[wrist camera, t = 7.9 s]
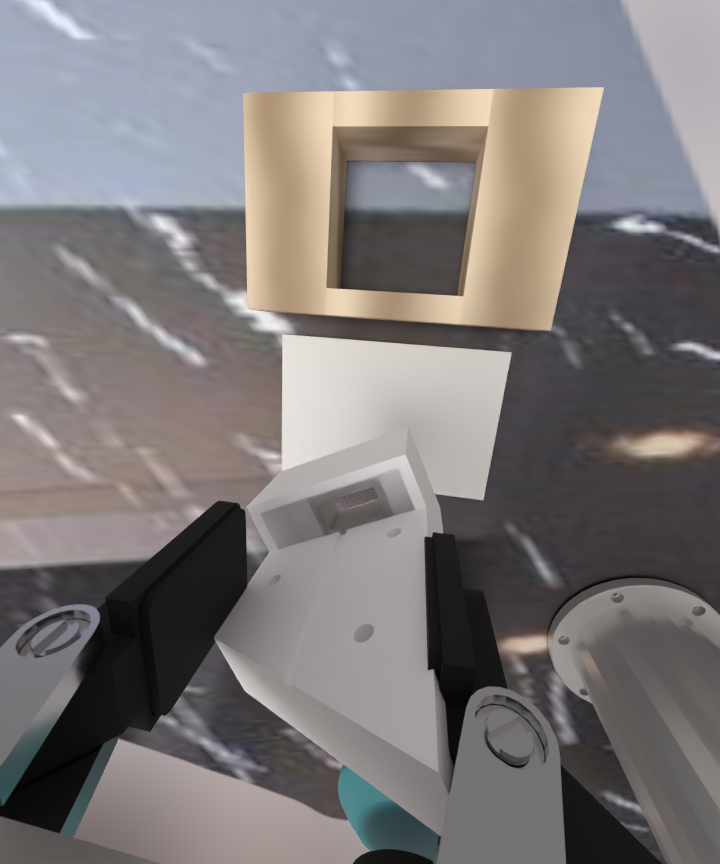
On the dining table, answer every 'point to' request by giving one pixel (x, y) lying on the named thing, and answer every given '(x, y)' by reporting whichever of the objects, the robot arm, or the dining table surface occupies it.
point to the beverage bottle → (384, 825)
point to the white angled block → (350, 619)
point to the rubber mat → (394, 403)
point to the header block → (422, 142)
